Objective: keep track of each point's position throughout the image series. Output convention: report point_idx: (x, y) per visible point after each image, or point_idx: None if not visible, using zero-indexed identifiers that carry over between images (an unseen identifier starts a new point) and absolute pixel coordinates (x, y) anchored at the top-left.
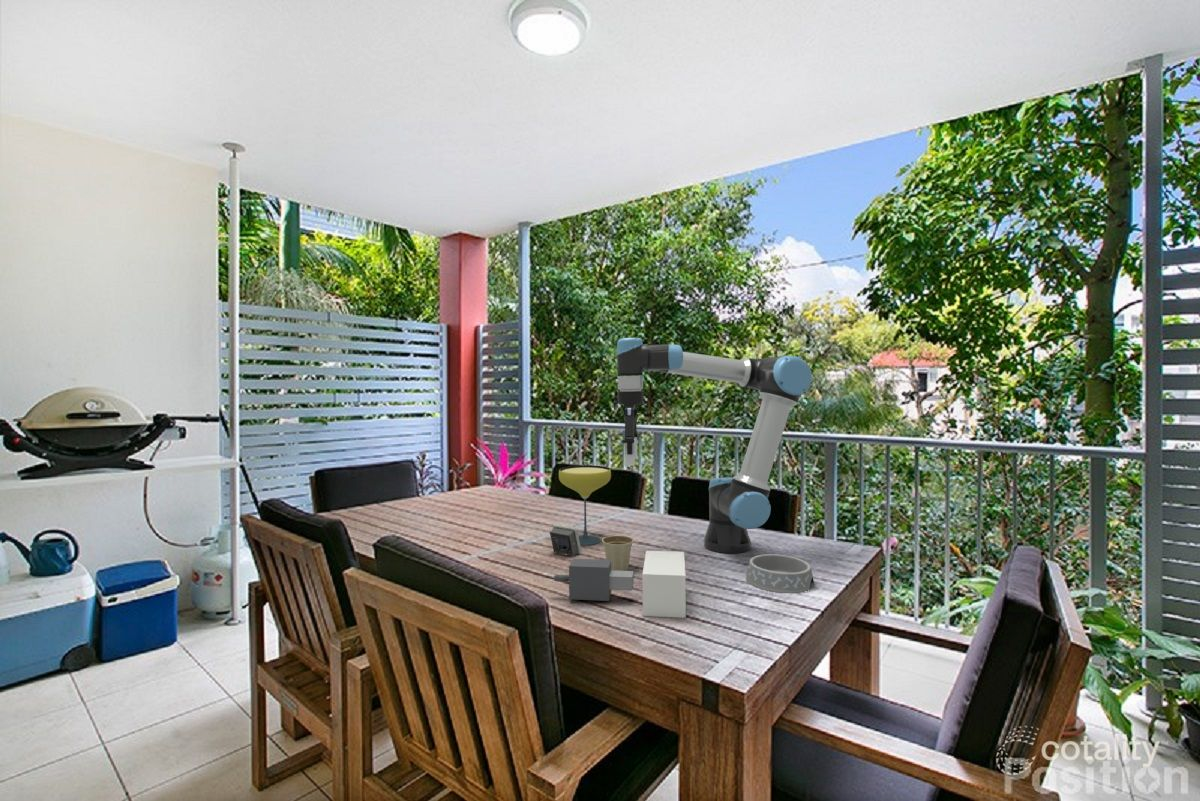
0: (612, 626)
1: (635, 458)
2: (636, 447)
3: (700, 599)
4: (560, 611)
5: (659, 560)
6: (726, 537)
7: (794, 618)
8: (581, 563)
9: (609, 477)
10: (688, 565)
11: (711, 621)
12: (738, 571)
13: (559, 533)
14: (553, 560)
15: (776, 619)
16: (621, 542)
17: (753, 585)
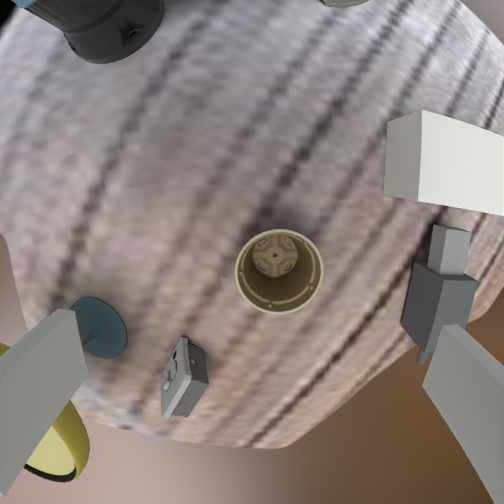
0: (497, 252)
1: (76, 326)
2: (17, 367)
3: (426, 105)
4: None
5: (472, 177)
6: (146, 3)
7: (458, 10)
8: None
9: (4, 352)
10: (245, 93)
11: (487, 114)
12: (278, 6)
13: (196, 401)
14: (229, 379)
15: (466, 31)
16: (243, 260)
17: (357, 4)
